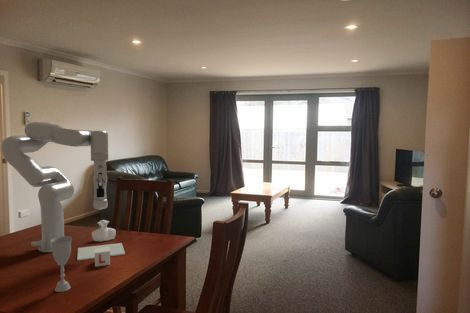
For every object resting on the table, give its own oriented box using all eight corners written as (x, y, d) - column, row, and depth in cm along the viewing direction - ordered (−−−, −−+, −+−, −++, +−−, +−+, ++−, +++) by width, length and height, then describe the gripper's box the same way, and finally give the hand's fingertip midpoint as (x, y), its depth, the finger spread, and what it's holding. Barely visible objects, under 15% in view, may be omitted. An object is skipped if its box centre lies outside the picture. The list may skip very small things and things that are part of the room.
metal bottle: (93, 211, 151) (93, 167, 150) (92, 208, 157) (91, 166, 156) (108, 210, 154) (108, 167, 153) (107, 207, 160) (106, 165, 159)
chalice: (57, 284, 123) (56, 236, 122) (76, 283, 123) (75, 236, 122) (48, 293, 116) (46, 242, 114) (68, 293, 116) (67, 242, 115)
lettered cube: (95, 267, 139) (94, 253, 139) (94, 261, 145) (94, 248, 145) (110, 265, 142) (110, 251, 141) (109, 259, 147) (109, 246, 147)
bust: (115, 242, 178) (113, 222, 184) (117, 236, 173) (115, 216, 178) (91, 245, 173) (90, 225, 178) (92, 239, 167) (90, 219, 173)
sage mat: (77, 260, 146) (77, 259, 146) (78, 249, 160) (78, 247, 160) (125, 254, 154) (125, 253, 154) (121, 244, 168) (121, 242, 168)
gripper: (109, 158, 148) (109, 198, 149) (107, 156, 164) (107, 192, 165) (90, 158, 145) (91, 199, 146) (90, 156, 160) (91, 193, 162)
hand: (100, 195), depth 155 cm, fingers closed on metal bottle, 5 cm apart
